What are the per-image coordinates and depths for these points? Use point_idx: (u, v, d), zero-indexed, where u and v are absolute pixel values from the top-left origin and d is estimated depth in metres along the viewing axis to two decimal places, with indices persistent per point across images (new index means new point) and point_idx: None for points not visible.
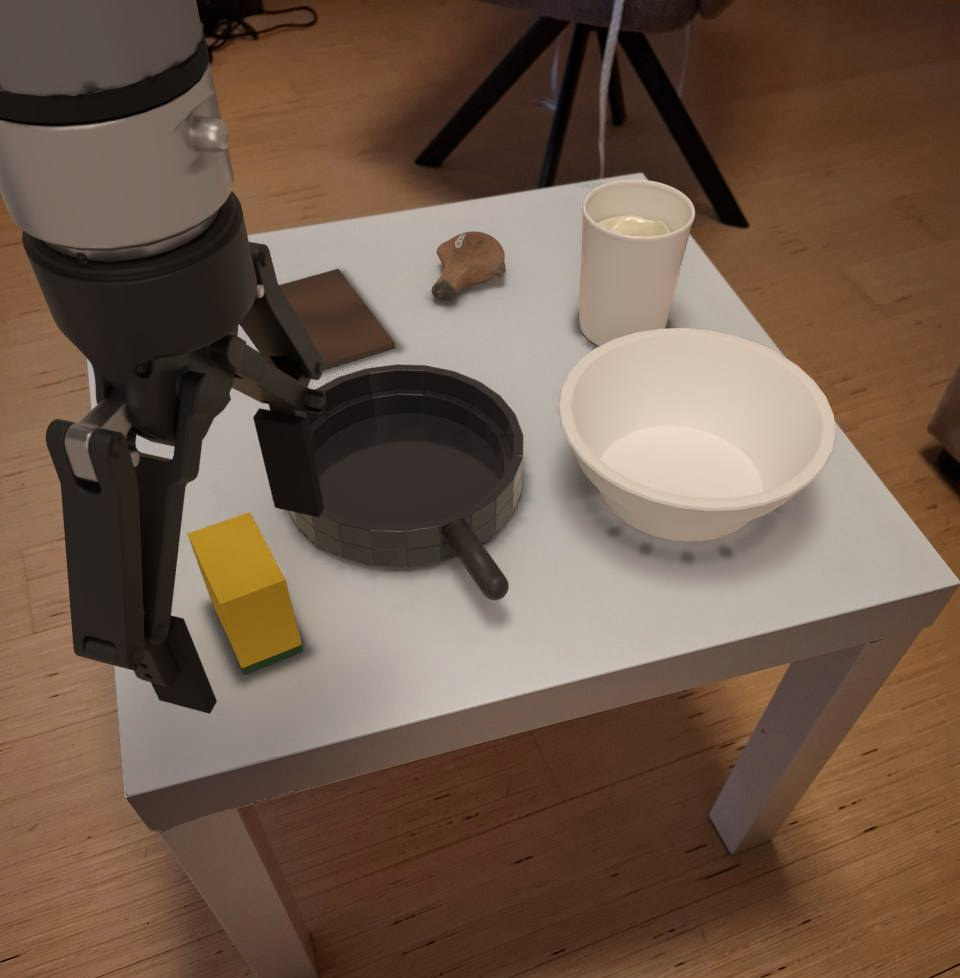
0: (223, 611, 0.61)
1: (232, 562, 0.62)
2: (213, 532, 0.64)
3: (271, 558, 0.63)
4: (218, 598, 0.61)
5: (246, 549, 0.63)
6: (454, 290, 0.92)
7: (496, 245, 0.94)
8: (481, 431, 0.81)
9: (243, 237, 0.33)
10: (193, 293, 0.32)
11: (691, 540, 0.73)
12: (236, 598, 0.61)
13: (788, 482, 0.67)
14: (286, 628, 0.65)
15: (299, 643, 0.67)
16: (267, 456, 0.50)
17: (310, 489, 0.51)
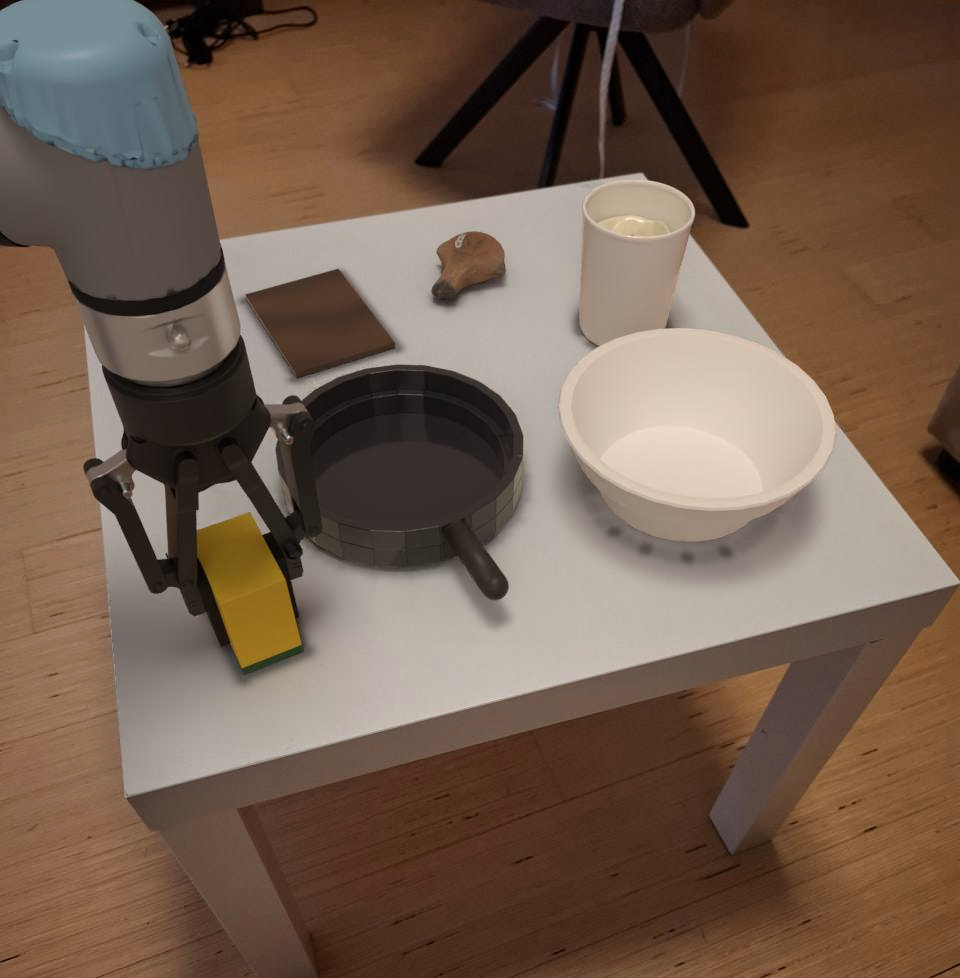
0: (223, 611, 0.61)
1: (232, 562, 0.62)
2: (213, 532, 0.64)
3: (271, 558, 0.63)
4: (218, 598, 0.61)
5: (246, 549, 0.63)
6: (454, 290, 0.92)
7: (496, 245, 0.94)
8: (481, 431, 0.81)
9: (215, 397, 0.49)
10: (157, 415, 0.49)
11: (691, 540, 0.73)
12: (236, 598, 0.61)
13: (788, 482, 0.67)
14: (286, 628, 0.65)
15: (299, 643, 0.67)
16: None
17: None
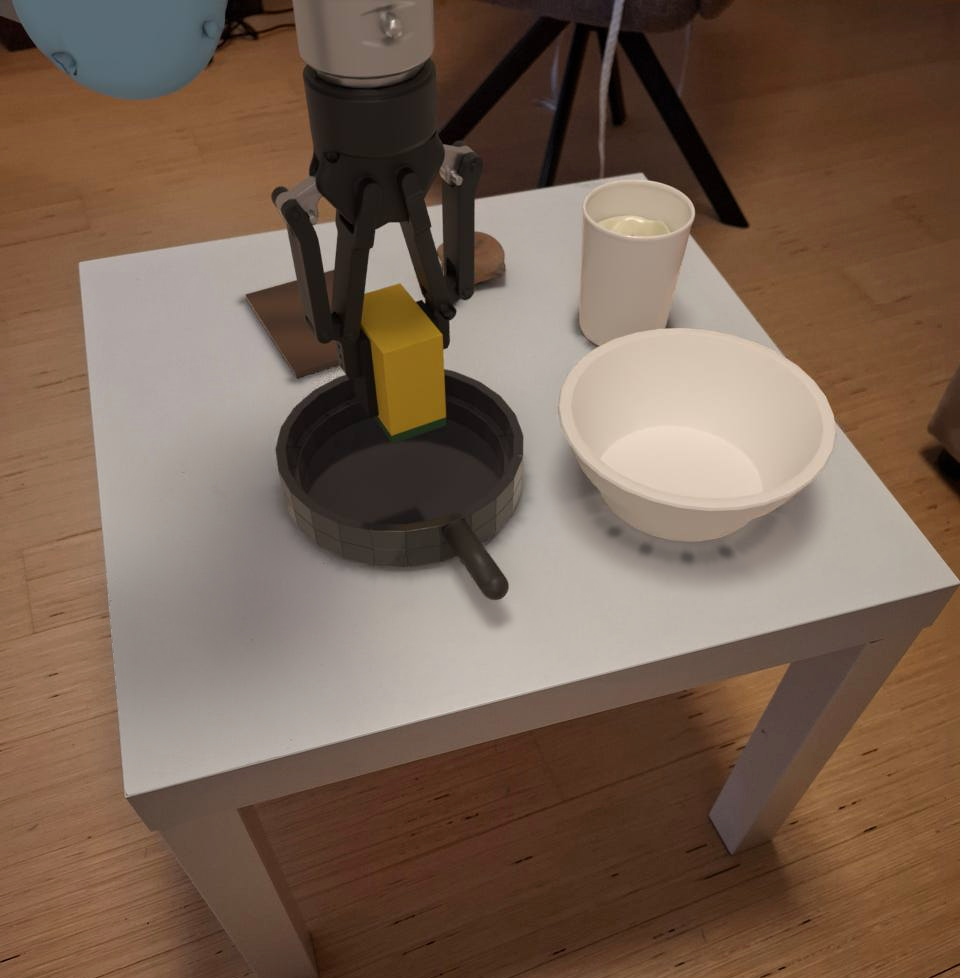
0: (385, 363, 0.64)
1: (390, 321, 0.65)
2: (368, 299, 0.67)
3: (426, 318, 0.66)
4: (381, 349, 0.64)
5: (401, 312, 0.66)
6: None
7: (496, 245, 0.94)
8: (481, 431, 0.81)
9: (412, 102, 0.52)
10: (358, 118, 0.52)
11: (691, 540, 0.73)
12: (398, 349, 0.64)
13: (788, 482, 0.67)
14: (435, 394, 0.68)
15: (444, 415, 0.70)
16: None
17: None
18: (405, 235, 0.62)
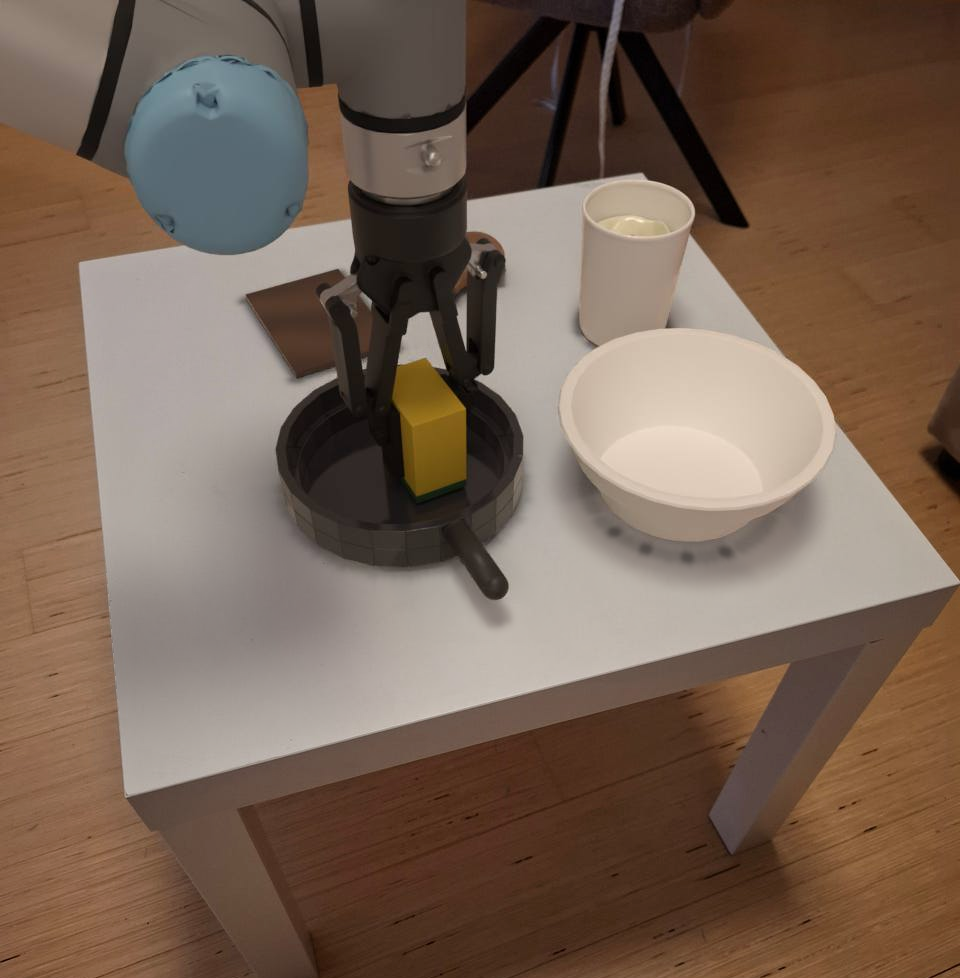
0: (413, 434, 0.70)
1: (417, 395, 0.72)
2: (396, 373, 0.73)
3: (450, 392, 0.72)
4: (410, 422, 0.70)
5: (427, 386, 0.72)
6: (454, 290, 0.92)
7: (496, 245, 0.94)
8: (481, 431, 0.81)
9: (446, 217, 0.58)
10: (398, 231, 0.58)
11: (691, 540, 0.73)
12: (425, 422, 0.70)
13: (788, 482, 0.67)
14: (458, 459, 0.74)
15: (465, 477, 0.76)
16: None
17: None
18: (433, 320, 0.69)
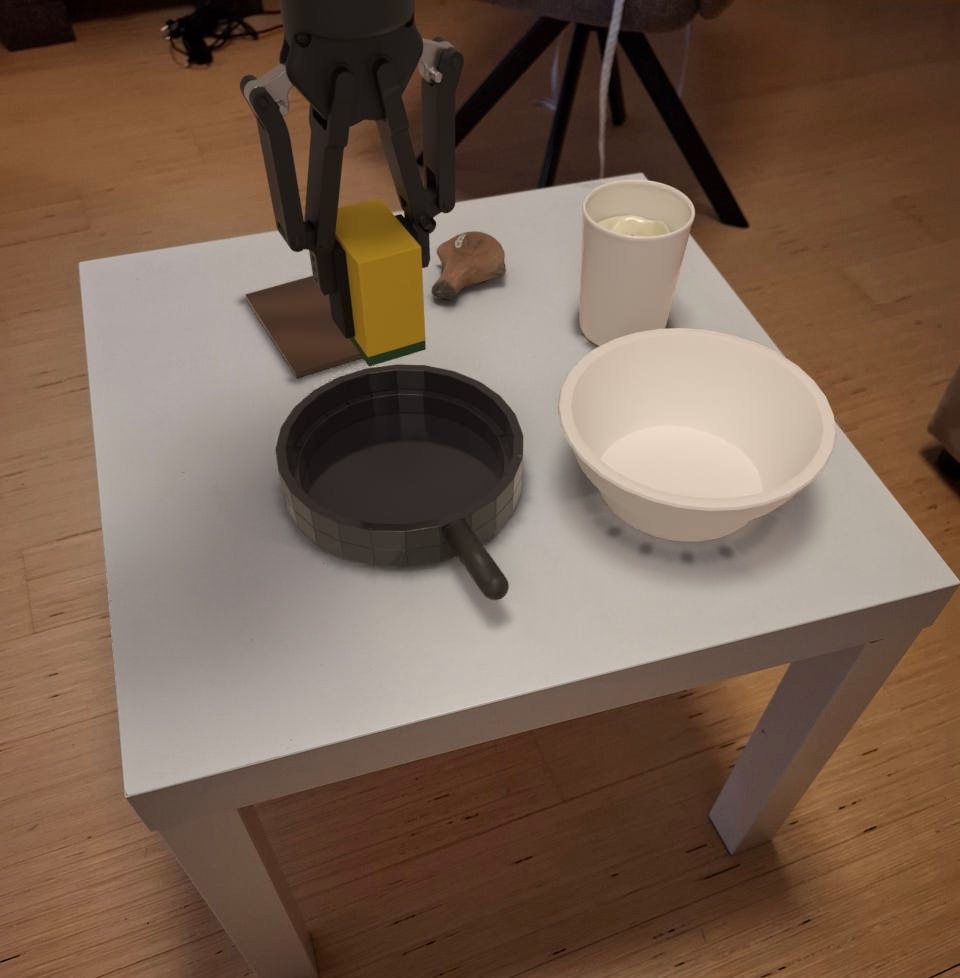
0: (360, 274, 0.61)
1: (367, 234, 0.63)
2: (344, 212, 0.64)
3: (405, 231, 0.63)
4: (356, 259, 0.61)
5: (379, 225, 0.63)
6: (454, 290, 0.92)
7: (496, 245, 0.94)
8: (481, 431, 0.81)
9: None
10: None
11: (691, 540, 0.73)
12: (373, 260, 0.61)
13: (788, 482, 0.67)
14: (414, 313, 0.65)
15: (423, 337, 0.67)
16: None
17: None
18: (382, 139, 0.60)
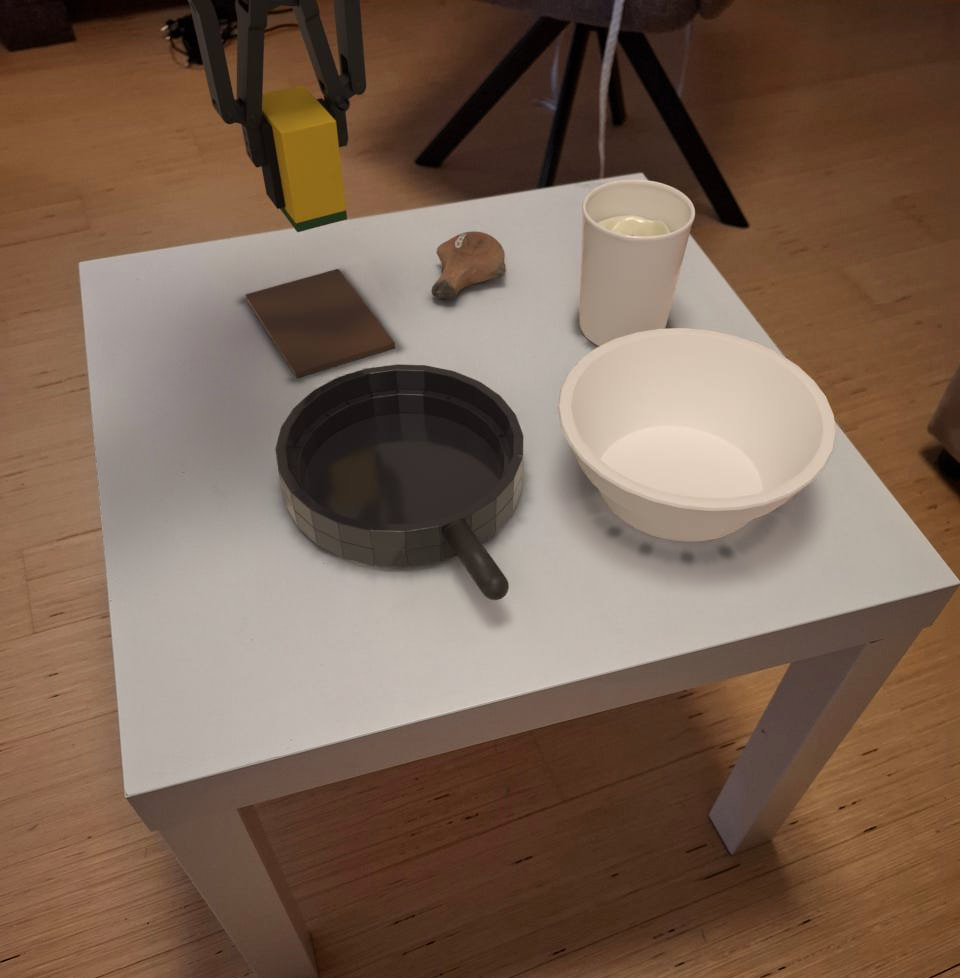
0: (283, 143, 0.72)
1: (290, 111, 0.74)
2: (273, 95, 0.75)
3: (323, 109, 0.74)
4: (279, 130, 0.72)
5: (301, 105, 0.74)
6: (454, 290, 0.92)
7: (496, 245, 0.94)
8: (481, 431, 0.81)
9: None
10: None
11: (691, 540, 0.73)
12: (294, 130, 0.72)
13: (788, 482, 0.67)
14: (334, 184, 0.76)
15: (344, 207, 0.78)
16: None
17: None
18: (300, 26, 0.71)
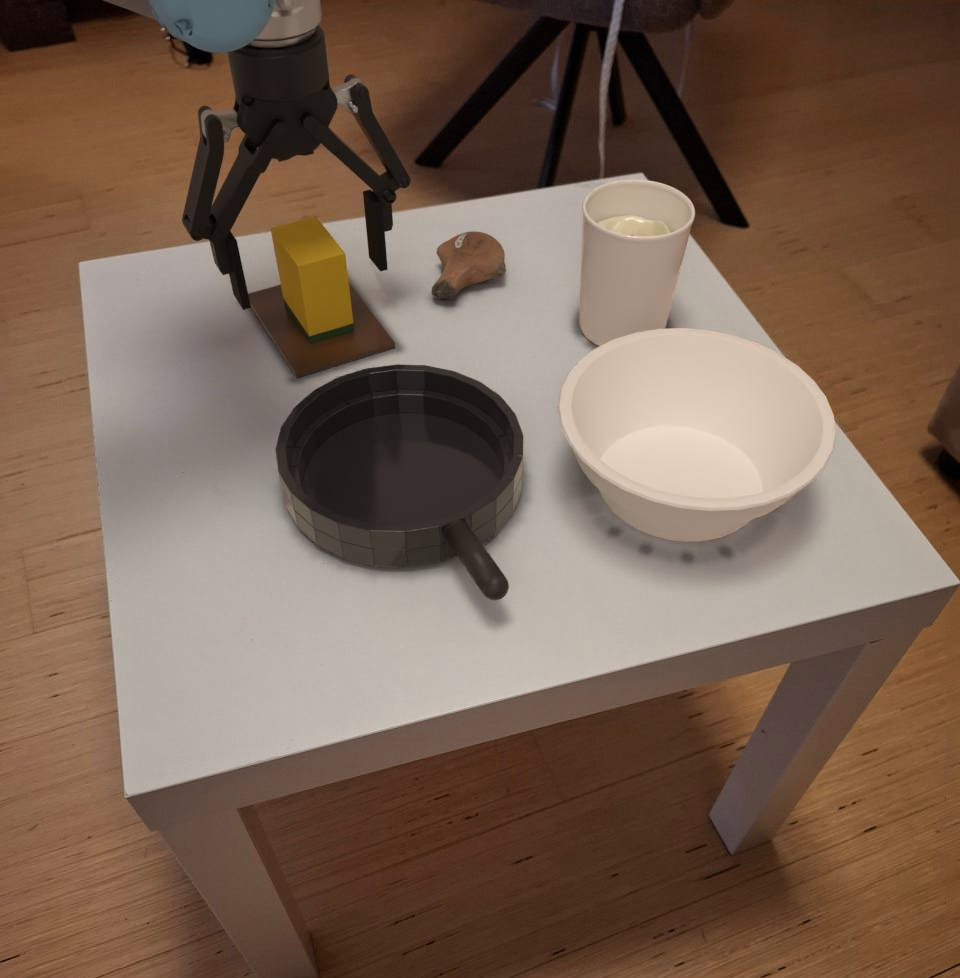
0: (300, 274, 0.83)
1: (305, 243, 0.84)
2: (289, 227, 0.86)
3: (334, 241, 0.85)
4: (296, 263, 0.83)
5: (315, 237, 0.85)
6: (454, 290, 0.92)
7: (496, 245, 0.94)
8: (481, 431, 0.81)
9: (305, 59, 0.70)
10: (264, 71, 0.70)
11: (691, 540, 0.73)
12: (309, 263, 0.83)
13: (788, 482, 0.67)
14: (343, 303, 0.87)
15: (351, 321, 0.89)
16: (366, 220, 0.87)
17: (377, 249, 0.88)
18: None
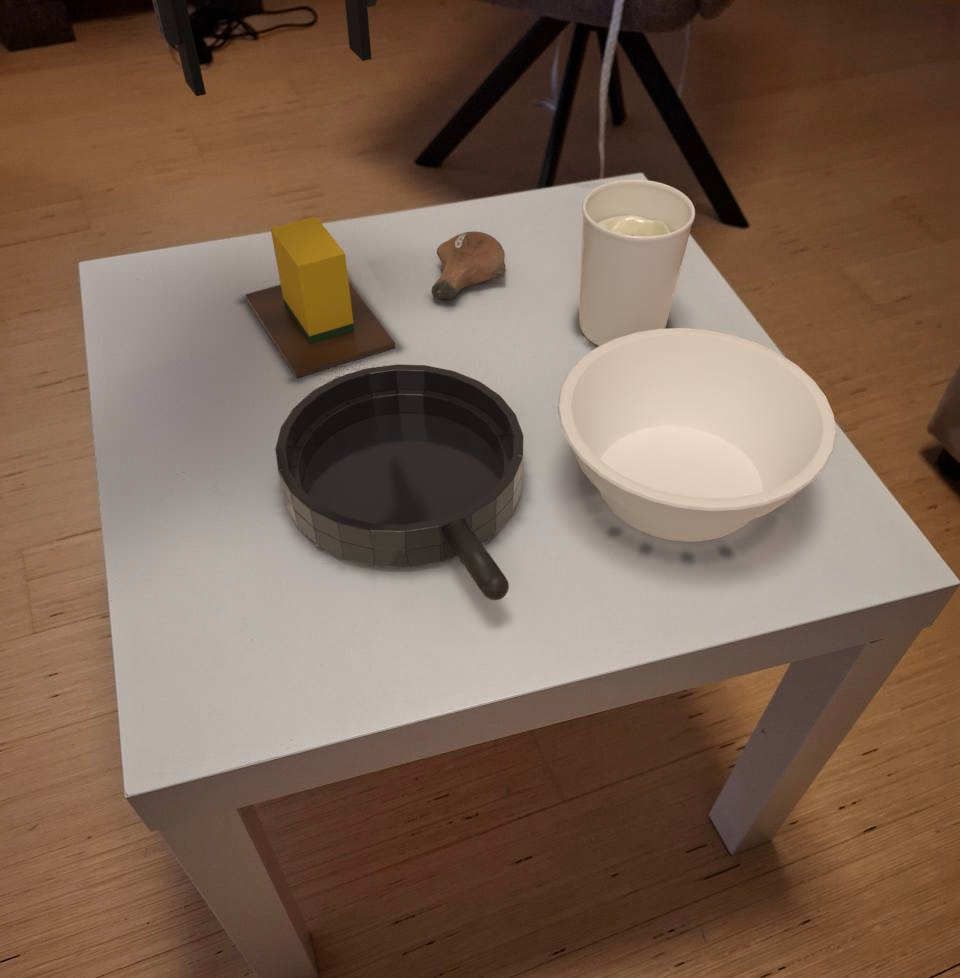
0: (300, 274, 0.83)
1: (305, 243, 0.84)
2: (289, 227, 0.86)
3: (334, 241, 0.85)
4: (296, 263, 0.83)
5: (315, 237, 0.85)
6: (454, 290, 0.92)
7: (496, 245, 0.94)
8: (481, 431, 0.81)
9: None
10: None
11: (691, 540, 0.73)
12: (309, 263, 0.83)
13: (788, 482, 0.67)
14: (343, 303, 0.87)
15: (351, 321, 0.89)
16: None
17: (359, 30, 0.73)
18: None
